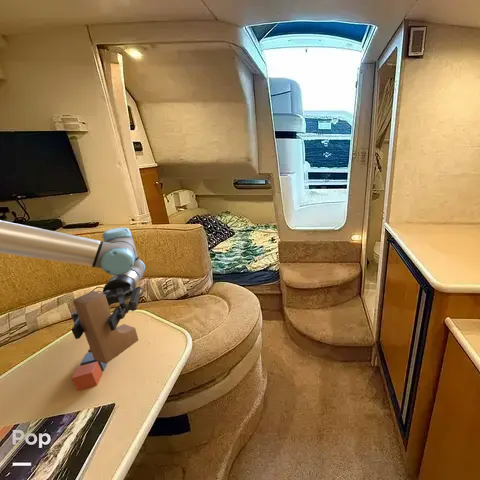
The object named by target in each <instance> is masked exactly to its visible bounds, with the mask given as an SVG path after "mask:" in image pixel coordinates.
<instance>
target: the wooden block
mask: <svg viewBox="0 0 480 480" xmlns="http://www.w3.org/2000/svg"><path fill="white" fill-rule="evenodd" d="M72 302H73V305H74V307H75V311H77V313H78V316H79V319H80V322H81V324H82V327H83V330H84V333H83V334H84V335H85V338H86V341H87V344H88V348H90V349H91V352H92V355H93V358H94V359H95V360H98V361H100V362H102V363H105V364H106V363H107V364H108V363H110V362H111V361H112V360H114V359H115V358H116V357H118V356H119V355H120V354H122V353H123V352H124V351H126V350H128V349H129V348H131V346H133V345H134V344H136V343H138V341H139V337H138V333H137V328H136V327H134V326H132V325H129V324H126V323H123V324H120V325H119V326H118V325H117V327H116V329H115V330H112V331H111V329H110V326H109V324H108V320H109V318H110V316H111V315H112V312H111V309H110V306H109V305H108V302H107V299H106V295H105V294H102V292H99V291H95V290H90V291H89V292H87V293H84V294H82V295H81V296H78V297H76V298H74V299H73V300H72Z"/></svg>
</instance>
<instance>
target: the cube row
mask: <svg viewBox="0 0 480 480" xmlns="http://www.w3.org/2000/svg"><path fill="white" fill-rule="evenodd" d="M79 364H80V365H79V366H77V368H76V370H75V371H74V373H73V375H72V377H71V378H70V379H71V381H72V383H73V385H74V387H75V388H76V391H77V392H79V391H82V390H85V389H89V388H92V387H96V386H98V385H99V382H100V381H101V378H102V376H103V372H104V371H105V369H106V367H107V365H108V363H106V364H105V363H102V362H100V361H98V360H95V359H94V358H93V355H92V352H91V349H90V347H88V350H87V352H86V353H85V354H84V356H83V358H82V360H81V361H80V363H79Z"/></svg>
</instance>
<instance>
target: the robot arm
mask: <svg viewBox="0 0 480 480" xmlns="http://www.w3.org/2000/svg"><path fill="white" fill-rule="evenodd" d="M101 236H102V240H99V239H93V238H88V237H83V236H79V235H75V234H70V233H64V232H59V231H55V230H49V229H44V228H41V227H36V226H30V225H26V224H20V223H14V222H10V221H5V220H1V219H0V254H5V255H11V256H17V257H18V256H19V257H26V258H31V259H36V260H37V259H39V260H44V261H51V262H57V263H64V264H72V265H77V266H83V267H90V268H97V269H102V270H103V272H105V273H106V274H108V275H111V277H110V278H109V280H108V281H107V282H106V283H105V285H104V286H103V288H102V292H101V293H102V294H105V295H106V299H107V302H108V305H109V307H110V306H111V305H113V304H119V306H115V307H114V310H113V311H112V312H111V316H110V318H109V320H108V324H109V326H110V329H111V331H112V330H115V329H116V327H118V325H119V323H120V321H121V320H123V319H125V316H126V314H128V313H129V312H130V311H131V312H134V311H136V310H137V309H138V306H139V302H140V299H141V297H142V296H143V295H144V292H143V289H142V286H138V285H139V284H140V281H141V280H142V278H143V277H144V275H145V272H146V264H145V263H144V262H143V260H141V259H140V257H139V255H138V251H137V248H136V247H137V246H136V245H135V241H134V237H133V235H132V232H131V230H130V229H129V228H128V227H116V228H112V229H108V230H105V231H103V233H102V235H101ZM127 301H128V303H127ZM70 316H71V319H72V321H73V327H72V328H71V330H70V331H71V332H72V335H73V337H74V339H75V340H78V339H80V338H81V337H82V336H83V335H84V334H85V333H84V330H83V327H82V324H81V322H80V319H79V316H78V313H77V311H76V310H74V311H73V312H72V313H71V314H70Z"/></svg>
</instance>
